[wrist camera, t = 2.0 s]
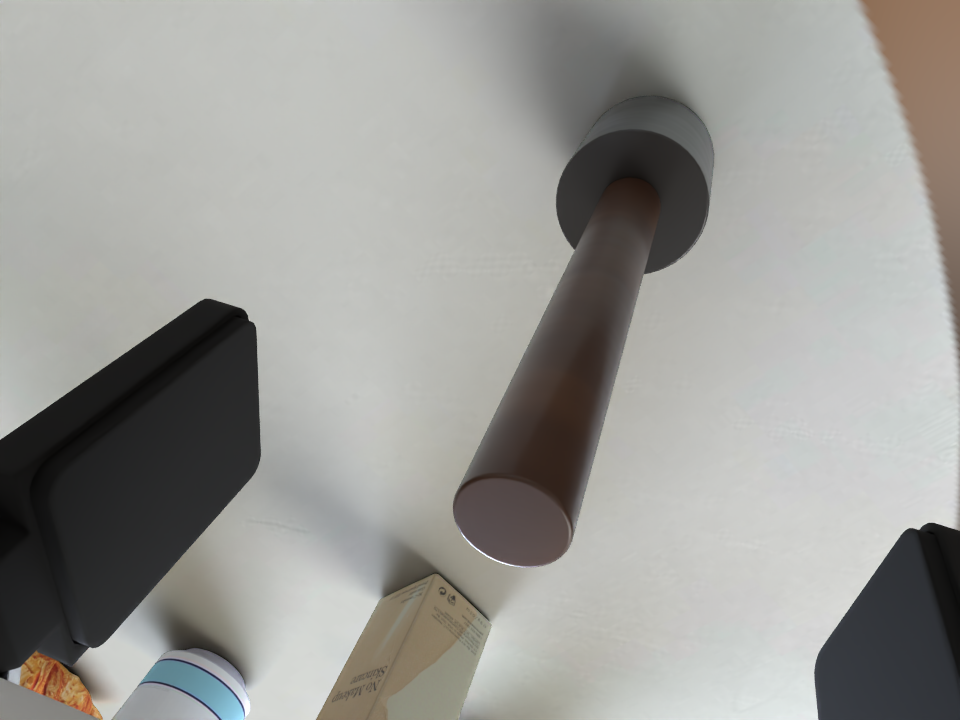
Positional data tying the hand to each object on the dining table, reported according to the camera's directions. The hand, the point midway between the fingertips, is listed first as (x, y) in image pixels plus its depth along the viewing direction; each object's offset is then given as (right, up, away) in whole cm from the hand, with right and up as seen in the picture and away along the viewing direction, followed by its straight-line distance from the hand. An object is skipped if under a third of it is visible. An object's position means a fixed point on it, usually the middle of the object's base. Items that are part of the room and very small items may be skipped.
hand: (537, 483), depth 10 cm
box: (-3, -11, +27) cm, 29 cm away
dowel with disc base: (+4, +8, +12) cm, 15 cm away
